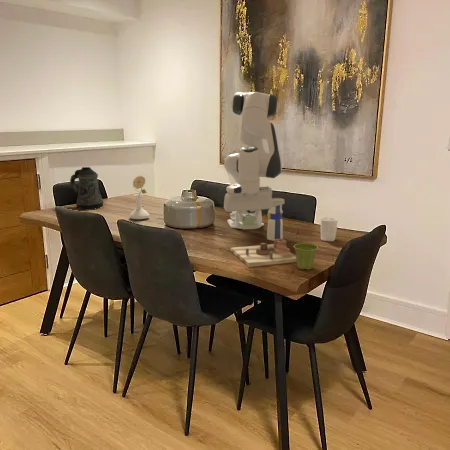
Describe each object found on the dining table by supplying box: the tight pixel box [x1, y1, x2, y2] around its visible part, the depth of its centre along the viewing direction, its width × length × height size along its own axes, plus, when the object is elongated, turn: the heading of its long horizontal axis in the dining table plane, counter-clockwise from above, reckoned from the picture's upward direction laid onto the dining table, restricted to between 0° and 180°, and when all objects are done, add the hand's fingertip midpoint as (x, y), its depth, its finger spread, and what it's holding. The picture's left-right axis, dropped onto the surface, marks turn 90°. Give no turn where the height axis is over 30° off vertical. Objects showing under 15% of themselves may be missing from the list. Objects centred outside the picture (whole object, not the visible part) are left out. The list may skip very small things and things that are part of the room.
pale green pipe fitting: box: [238, 214, 259, 230], centre depth 188 cm, size 6×6×5 cm
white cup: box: [320, 217, 338, 242], centre depth 219 cm, size 8×8×10 cm
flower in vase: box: [129, 175, 151, 220], centre depth 256 cm, size 13×11×25 cm
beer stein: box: [69, 166, 104, 210], centre depth 287 cm, size 16×19×25 cm
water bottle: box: [266, 197, 285, 242], centre depth 218 cm, size 8×9×25 cm
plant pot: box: [293, 242, 319, 270], centre depth 180 cm, size 9×9×9 cm
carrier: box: [230, 238, 297, 268], centre depth 194 cm, size 22×22×7 cm
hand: (248, 220), depth 188 cm, fingers closed on pale green pipe fitting, 4 cm apart
